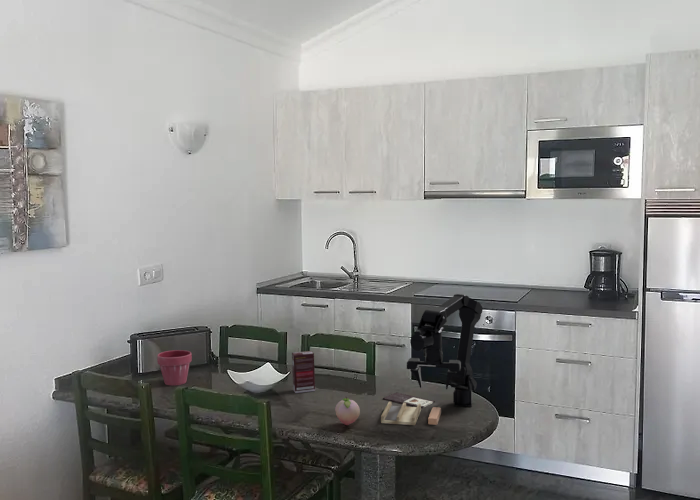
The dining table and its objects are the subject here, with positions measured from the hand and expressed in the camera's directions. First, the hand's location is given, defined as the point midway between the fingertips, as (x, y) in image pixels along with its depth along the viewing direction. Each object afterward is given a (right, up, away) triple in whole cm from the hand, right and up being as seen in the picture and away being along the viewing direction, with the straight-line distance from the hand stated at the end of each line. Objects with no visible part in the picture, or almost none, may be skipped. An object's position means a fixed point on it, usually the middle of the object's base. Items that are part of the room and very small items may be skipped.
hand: (433, 388), depth 240 cm
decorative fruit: (-31, -12, -4) cm, 33 cm away
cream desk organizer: (-11, -11, +4) cm, 16 cm away
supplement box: (-49, -9, +36) cm, 61 cm away
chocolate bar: (-7, -10, +21) cm, 24 cm away
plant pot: (-105, -8, +50) cm, 117 cm away
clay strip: (0, -11, +1) cm, 11 cm away
